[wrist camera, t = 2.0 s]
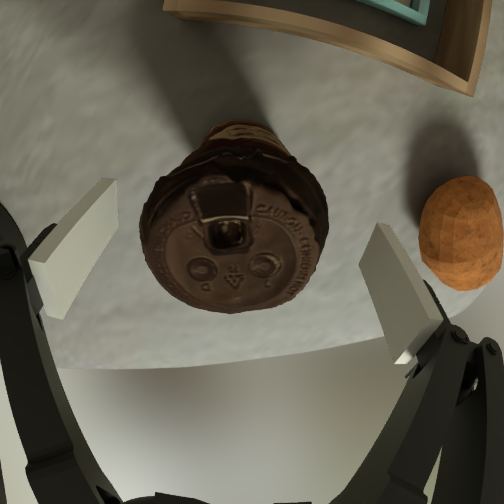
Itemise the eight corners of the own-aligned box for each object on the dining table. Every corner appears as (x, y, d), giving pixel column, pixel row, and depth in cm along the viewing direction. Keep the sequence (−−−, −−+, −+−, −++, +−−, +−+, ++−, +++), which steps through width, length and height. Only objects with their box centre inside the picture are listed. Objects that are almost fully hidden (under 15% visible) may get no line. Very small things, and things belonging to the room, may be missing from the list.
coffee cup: (226, 79, 19) (195, 106, 9) (319, 141, 22) (382, 234, 11) (168, 173, 23) (106, 282, 13) (254, 222, 26) (257, 350, 16)
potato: (409, 270, 29) (437, 322, 23) (397, 176, 23) (439, 221, 17) (477, 243, 27) (511, 287, 21) (477, 150, 21) (528, 186, 15)
